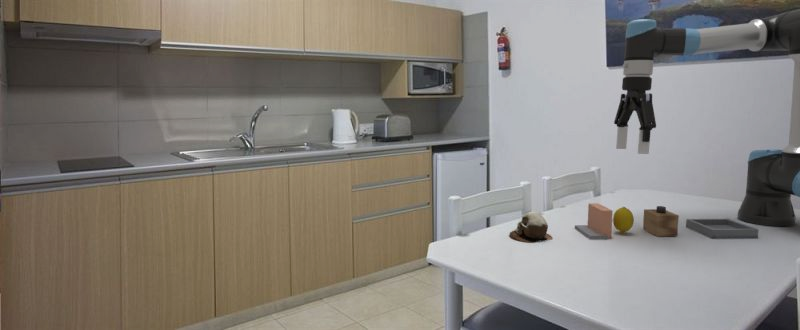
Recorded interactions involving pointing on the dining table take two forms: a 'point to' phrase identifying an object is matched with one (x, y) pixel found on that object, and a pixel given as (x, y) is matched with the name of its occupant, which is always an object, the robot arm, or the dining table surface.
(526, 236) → the skull
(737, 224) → the tray
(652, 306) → the dining table surface
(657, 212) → the wooden block with knob
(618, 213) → the lemon
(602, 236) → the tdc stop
